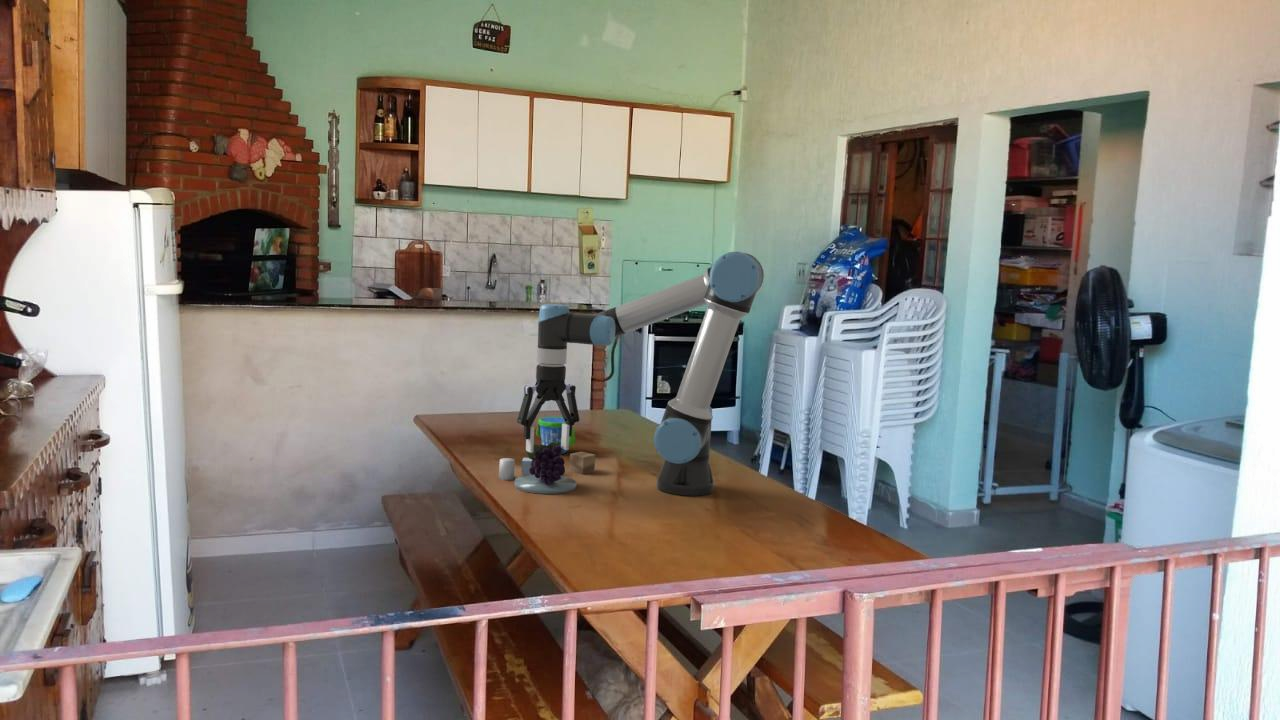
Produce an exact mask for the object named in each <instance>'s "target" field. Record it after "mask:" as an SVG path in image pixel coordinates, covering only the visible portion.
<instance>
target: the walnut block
mask: <svg viewBox="0 0 1280 720" xmlns="http://www.w3.org/2000/svg"><path fill="white" fill-rule="evenodd" d="M568 464H569V467H568V470H569V471H568V472H571V473H576V474H578V475H582V476H583V475H587V474H592V473H595V470H596V469H595V467H596V466H595V465H596V454H594V453H590V452H585V451H578V452H573V453H570V454H569V463H568Z"/></svg>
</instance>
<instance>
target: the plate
mask: <svg viewBox="0 0 1280 720" xmlns="http://www.w3.org/2000/svg"><path fill="white" fill-rule="evenodd" d="M514 487H515V488H516V489H517V490H519V491H520V492H521V491H522V492H524V493H525V492H526V493H529V492H530V493H531V494H536V493H537V494H538V495H560V494H561V493H562V494H566V493H571V492H573V491H575V490H576V489H577V481H576V480H575V479H573V478H571V477H569V476H564V475H561V479H559V480H557V481H554V483H553V484H547V485H546V484H544V482H542V481H541V479H540V478H536V477H535V476H534V475H521V476H518V477H516V478H514ZM559 493H560V494H559ZM562 494H561V495H562Z"/></svg>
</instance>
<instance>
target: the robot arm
mask: <svg viewBox="0 0 1280 720" xmlns="http://www.w3.org/2000/svg"><path fill="white" fill-rule="evenodd" d="M764 276H765V275H764V269H763V265H762V264H761V262H760V261H759V260H758V259H757V258H756V257H755V256H754V255H752V254H749V253H747V252H746V253H745V252H741V251H730V252H726V253H725V254H722V255H721V256H719V257H718V258H717V260H715V262H714V263H713V264H712V266H711V267H708V268H706V269H705V272H704V273H703V274H700V275H698V276H695V277H692V278H689V279H687V280H684V281H682V282H679V283H677V284H673V285H671V286H668V287H666V288H663V289H660V290H658V291H655V292H652V293H650V294H647V295H644V296H642V297H639V298H635V299H634V300H631V301H629V302H626V303H622V304H619V305H617V306H615V307H612V308H608V309H606V310H604V311H600V312H598V313H592V314H584V313H583V314H582V313H578V314H577V313H572V312H570V307H569V306H568V305H566V304H560V303H559V304H557V303H545V304H542V305H541V306H540V308H539V313H538V314H539V315H538V321H537V324H538V325H537V328H538V329H537V330H538V331H537V349H536V351H537V353H536V355H537V356H536V363H538V364H537V365H536V369H535V371H536V373H535V378H536V379H535V380H536V382H535V384H534V385H531V386H528V385H525V386H524V388H523V391H524V393H523V394H524V395H523V398H522V403H521V405H520V409H519V413H518V416H517V419H516V423H518V424H519V425H522V427H523V439H525V451H526V452H530V453H533V446H534V445H535V443H534V442H535V441H534V440H535V439H534V438H535V427H534V426H533V423H534V422H535V420H536V418H537V416H538V414H539V413H540V410H541V408H542V407H543V405H544V404H545V403H546V402H549V401H550V402H551V401H554V402H556V405H557V408H558V409H559V412H560V414H561V417H563V419H564V421H565V423H566V424H565V423H564V424H562V437H561V448H562V449H565V450H567V451H569V447H570V446H569V437H571V435H572V425H573V426H574V425H575V423H579V422H580V416H579V415H580V414H579V409H578V404H577V397H576V385H574V384H569V383H568V384H566V381H565V380H566V374H567V373H566V372H567V367H566V366H565V365H566V364H567V351H568V343H569V344H581V345H592V346H596V347H600V346H602V347H603V346H605V347H606V346H611V345H612V344H613V343H614V340H615V338H617V337H620V336H623V335H625V334H627V333H630V332H633V331H637V330H638V329H641V328H644V327H647V326H650V325H653V324H654V323H658V322H660V321H663V320H666V319H669V318H673V317H675V316H677V315H680V314H684V313H686V312H688V311H692V310H694V309H696V308H697V309H698V308H700V307H703V306H705V305H706V310H705V312H704V316H703V319H702V322H701V325H700V327H699V331H698V333H697V336H696V339H695V342H694V343H693V347H692V351H691V354H690V357H689V359H688V362H687V365H686V368H685V371H684V374H683V376H682V380H681V382H680V385H679V388H678V391H677V394H676V396H675V397H674V398H672V399H670V400H668V402H667V403H666V404H667V405H666V407H665V410H664V413H663V416H662V419H661V421H660V423H659V424H658V426H657V427H656V428H655V431H654V436H653V445H654V448H655V450H656V452H657V453H658V454H659V456H660V457H661V458H662V459H664V461H663V464H662V466H661V468H660V471H659V475H658V476H657V479H656V488H657V489H659V491H661V492H664V493H667V494H673V495H679V496H690V497H691V496H694V497H695V496H705V495H709V494H712V493H713V492H714V487H715V486H714V483H715V482H714V478H713V473H712V469H711V466H710V450H711V449H710V448H711V434H712V421H713V409H712V407H711V404H712V400H713V397H714V395H715V393H716V389H717V386H718V384H719V380H720V378H721V375H722V373H723V369H724V367H725V363H726V360H727V357H728V355H729V352H730V349H731V346H732V344H733V341H734V338H735V335H736V332H737V330H738V327H739V325H740V321H741V319H742V318H745V316H748V315H749V314H750V312H751V308H752V305H753V302H754V300H755V297H756V295H757V292H759V290H760V289H761V288H762V285H763V283H764V278H765V277H764ZM535 392H536V393H537V394H536V395H535ZM564 392H565V393H566V399H567V405H568V407H567V405H566V402H565V398H564V396H563V393H564ZM534 395H535V398H534V401H532V400H533V396H534ZM532 402H533V403H532ZM531 405H532V406H531Z"/></svg>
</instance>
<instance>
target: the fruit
mask: <svg viewBox="0 0 1280 720" xmlns="http://www.w3.org/2000/svg"><path fill="white" fill-rule="evenodd" d="M526 453H527V456H528V457H527V458H529V459H532V461H531V466H532V467H530V469H529V473H530V474H532V475H534V476H535V477H536V478H540V479H541V481H542V482H544V484H546V485H547V484H553V483H554V481H557V480H559V479H561V476H564V474H565V473H566V467H565V463H566V462H565V459H564V458H563V457H562V455H563V454H562V453H563V451H562V448H561V447H560V443H554V442H552V443H550V444H549V445H548V446H546V445H542V444H534V445H533V453H530V452H528V451H526Z"/></svg>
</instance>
